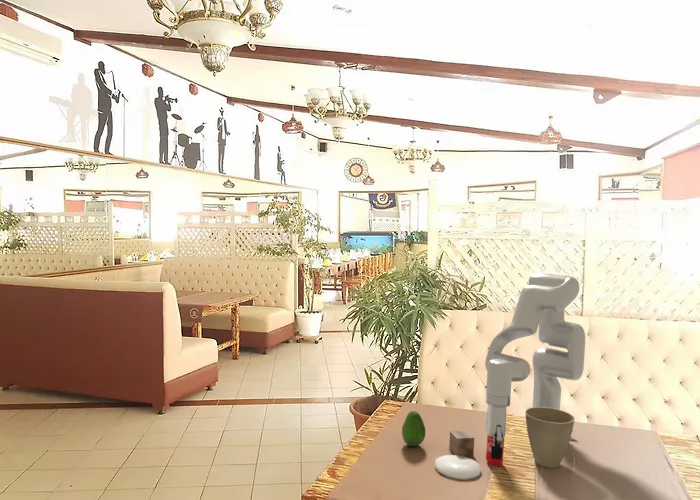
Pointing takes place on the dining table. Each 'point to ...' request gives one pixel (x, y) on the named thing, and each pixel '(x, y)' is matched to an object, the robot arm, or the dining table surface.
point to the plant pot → (548, 434)
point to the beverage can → (488, 454)
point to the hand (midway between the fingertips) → (494, 453)
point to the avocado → (413, 429)
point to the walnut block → (461, 443)
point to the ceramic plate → (458, 467)
